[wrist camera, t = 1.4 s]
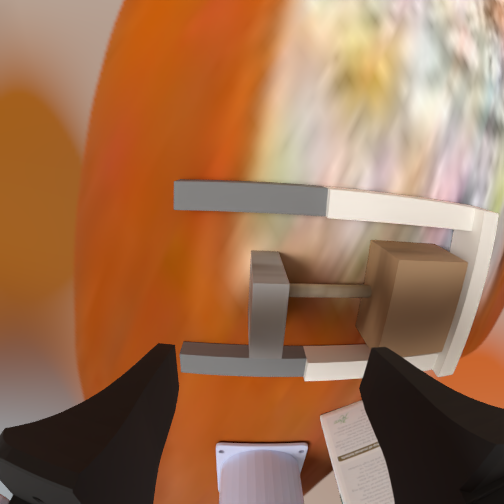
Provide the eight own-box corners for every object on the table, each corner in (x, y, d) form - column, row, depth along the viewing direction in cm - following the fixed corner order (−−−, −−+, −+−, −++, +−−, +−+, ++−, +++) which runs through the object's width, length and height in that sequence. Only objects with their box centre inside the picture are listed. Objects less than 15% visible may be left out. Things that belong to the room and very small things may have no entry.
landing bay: (300, 363, 21) (303, 376, 19) (184, 359, 20) (181, 372, 19) (321, 185, 17) (328, 188, 16) (179, 179, 17) (174, 181, 16)
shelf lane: (435, 353, 21) (452, 374, 18) (300, 363, 21) (306, 391, 18) (472, 205, 18) (498, 213, 15) (321, 185, 17) (335, 191, 14)
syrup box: (317, 414, 22) (354, 574, 8) (385, 389, 22) (455, 534, 8) (329, 449, 24) (361, 581, 10) (389, 427, 23) (442, 551, 9)
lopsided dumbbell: (415, 323, 20) (449, 360, 15) (247, 325, 20) (248, 373, 15) (434, 243, 18) (478, 268, 14) (252, 233, 18) (254, 261, 13)
